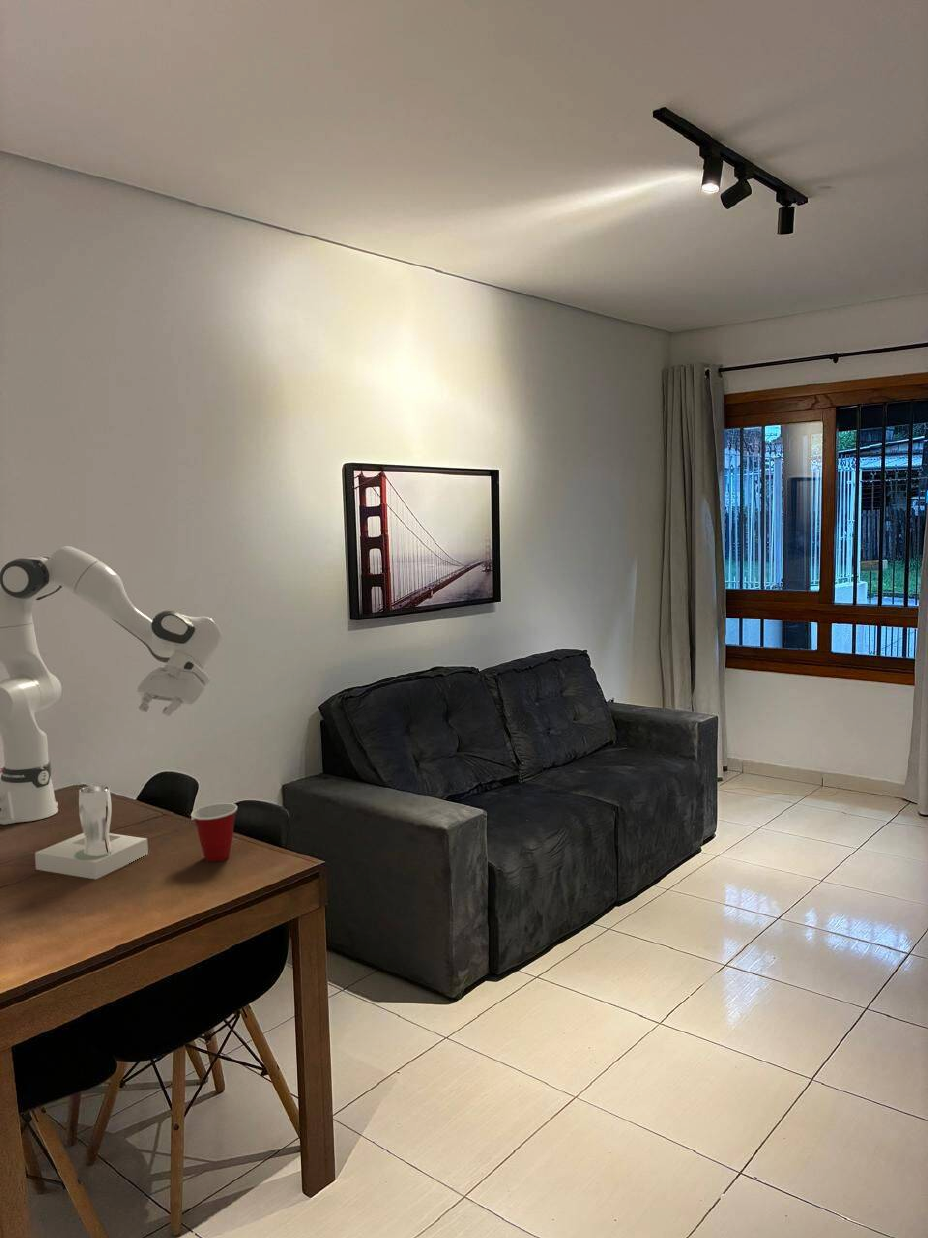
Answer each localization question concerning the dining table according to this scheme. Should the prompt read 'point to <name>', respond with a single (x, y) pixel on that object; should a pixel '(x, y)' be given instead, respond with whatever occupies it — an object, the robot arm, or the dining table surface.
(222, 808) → the plastic cup
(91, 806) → the beer glass
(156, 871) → the dining table surface
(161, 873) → the dining table surface
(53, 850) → the pale board
